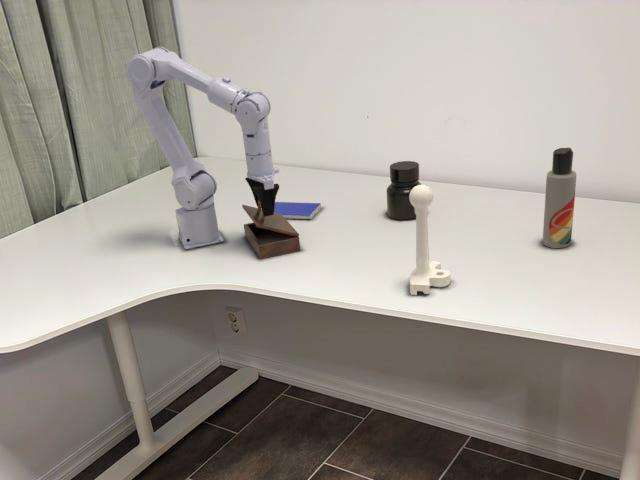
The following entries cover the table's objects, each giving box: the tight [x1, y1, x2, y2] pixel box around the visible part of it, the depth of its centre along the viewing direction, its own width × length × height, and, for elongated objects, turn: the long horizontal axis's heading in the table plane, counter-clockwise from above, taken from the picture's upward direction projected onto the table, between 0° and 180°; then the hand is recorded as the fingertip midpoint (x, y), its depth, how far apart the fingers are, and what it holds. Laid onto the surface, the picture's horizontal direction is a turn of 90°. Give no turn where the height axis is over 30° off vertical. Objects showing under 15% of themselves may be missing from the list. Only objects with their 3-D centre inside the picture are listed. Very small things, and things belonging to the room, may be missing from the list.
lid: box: [241, 199, 300, 237], centre depth 177 cm, size 10×15×4 cm
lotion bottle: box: [542, 147, 577, 249], centre depth 159 cm, size 6×6×20 cm
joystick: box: [409, 184, 451, 296], centre depth 149 cm, size 11×8×20 cm
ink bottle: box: [386, 160, 423, 221], centre depth 185 cm, size 10×9×12 cm
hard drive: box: [274, 201, 322, 220], centre depth 197 cm, size 2×8×12 cm
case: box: [243, 221, 301, 260], centre depth 180 cm, size 9×15×3 cm, turn 16°
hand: (265, 211), depth 177 cm, fingers closed on lid, 5 cm apart
